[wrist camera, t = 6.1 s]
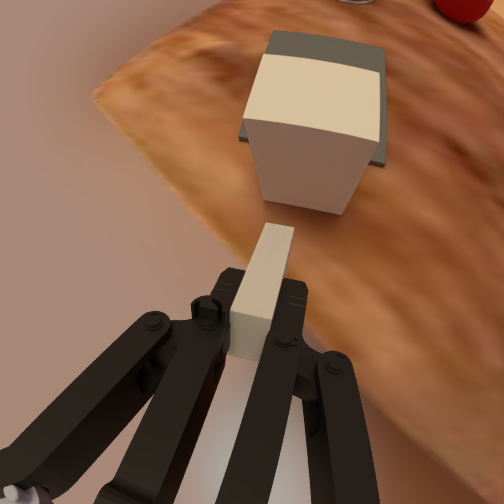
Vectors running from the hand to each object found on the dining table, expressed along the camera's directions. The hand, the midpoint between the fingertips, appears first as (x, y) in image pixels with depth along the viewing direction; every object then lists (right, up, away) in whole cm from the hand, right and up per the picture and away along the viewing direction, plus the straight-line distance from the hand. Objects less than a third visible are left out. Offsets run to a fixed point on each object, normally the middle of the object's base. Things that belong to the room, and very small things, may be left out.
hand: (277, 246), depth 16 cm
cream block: (+4, +7, +14) cm, 16 cm away
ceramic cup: (+38, +49, +18) cm, 64 cm away
